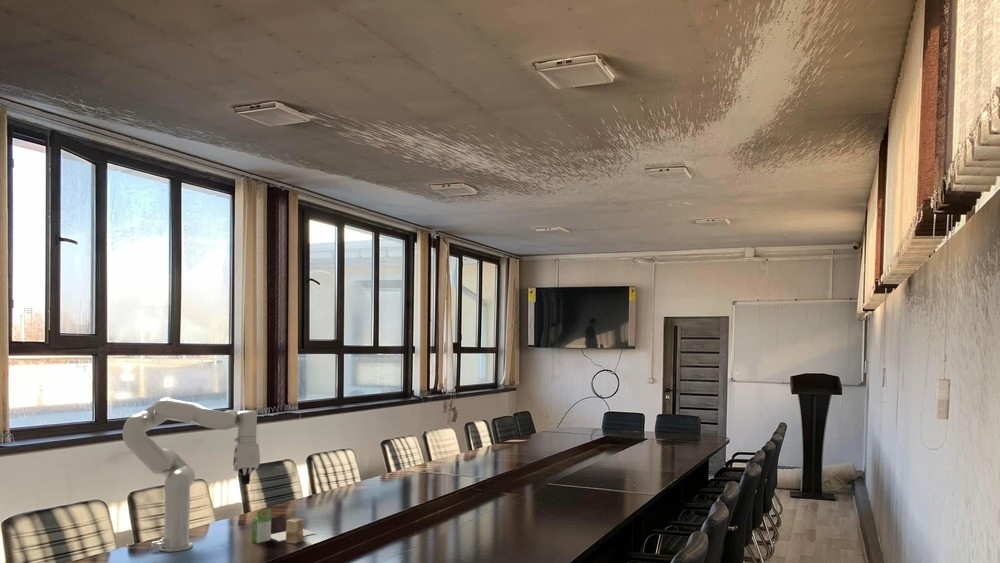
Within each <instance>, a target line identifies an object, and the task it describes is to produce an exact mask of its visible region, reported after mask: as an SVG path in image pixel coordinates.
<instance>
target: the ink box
mask: <svg viewBox="0 0 1000 563" xmlns="http://www.w3.org/2000/svg"><path fill="white" fill-rule="evenodd" d="M263 513H267V514H263ZM251 530H252V531H251V542H252V544H261V543H265V542H268V541H271V540H272V539H271V534H272V508H268V509H263V510H259V511H257V517H253V518H252V526H251Z"/></svg>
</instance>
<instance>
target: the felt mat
mask: <svg viewBox="0 0 1000 563" xmlns="http://www.w3.org/2000/svg"><path fill="white" fill-rule="evenodd" d="M315 533H316V532H314V531H311V530H308V529H306V528H303V536H304V537H308V536H307V535H309V536H312V535H311V534H314V535H316V534H315ZM271 540H274V541H277V542H278V543H280V542H284V541H285V542H286V530H285V531H280V532H276V533H271Z"/></svg>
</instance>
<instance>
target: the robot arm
mask: <svg viewBox="0 0 1000 563" xmlns="http://www.w3.org/2000/svg"><path fill="white" fill-rule="evenodd" d="M257 418H258V413H257V411H256V410H252V409H251V410H250V409H249V410H248V409H246V410H234V409H226V410H224V411H223V410H216V409H211V408H208V407H204V406H203V405H201V404H200V403H197V402H192V401H191V402H190V401H185V400H180V399H177V398H175V397H174V396H165V397H163V398H161V399H158V400H157V401H156V403H155V404H153V405H151V406H149V407H147V408H146V409H144V410H142V411H140V412H138V413H134V414H133V415H130V416H129V417H128V418H127V419H126V421H125V423H124V425H123V427H122V433H121V434H122V439H123V442H124V443H125V445H126V447H127V448H128V449H129V450H130V451H131V452H132V453H133V454H134V455H135V456H136V457H137V459H139V461H141V463H143V465H144V466H146V467H147V469H148V470H150V472H151V473H152V474H154V475H164V477H165V480H164V487H163V488H164V489H163V490H164V520H163V521H164V526H163V536H162V537H160V538H161V539H159V540H155V541H151V543H150V546H151V548H154V547H157V548H158V549H159V551H161V552H167V553H169V552H181V551H185V550H189V549H191V548H192V547H193V542H192V541H189V540H190V538H189V537H190V516H191V514H190V511H191V495H190V489H191V486H192V485H193V484H194V482H195V480H196V476H195V472H194V470H193V469H192V468H191V467H190V465H188V464H187V462H185V461H184V460H183V459H182V457H181V456H180V455H178V454H177V452H176V451H174V450H173V449H170V448H161V447H160V446H159V444H157V443H156V442H155V441H154V440H153V439H152V437H151V438H150V437H149V436H148V435H147V433H146V432H148V431H150V430H153V429H155V427H158V426H159V425H161V424H162V423H164V422H166V421H167V420H170V421H173V422H181V423H186V424H192V425H196V426H200V427H204V428H209V429H215V430H223V431H229V430H231V429H233V428H236V427H237V436H236V437H235V438H234V442H236V443H235V447H234V450H233V452H234V453H233V460H232V461H233V462H232V464H233V465H232V466H233V469H232V470H233V472H238V473H239V474H240V475H241V479H240V480H241V484H242V485H250V481H251V475H252V473H253V472H254V471H255V470H257V469H259V466H260V463H261V458H260V457H261V456H260V454H261V453H260V445H259V442H257V427H258V426H257V425H258V424H257V423H258V421H257V420H258V419H257Z"/></svg>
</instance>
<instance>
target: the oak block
mask: <svg viewBox="0 0 1000 563" xmlns="http://www.w3.org/2000/svg"><path fill="white" fill-rule="evenodd" d="M285 525H286V526H285V531H286V540H285V542H286V543H289V544H294V543H295V544H298V543H300V541H301V542H304V537H303V529H304V519H302V518H297V517H294V518H291V519H286V523H285ZM297 542H298V543H297Z"/></svg>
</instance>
